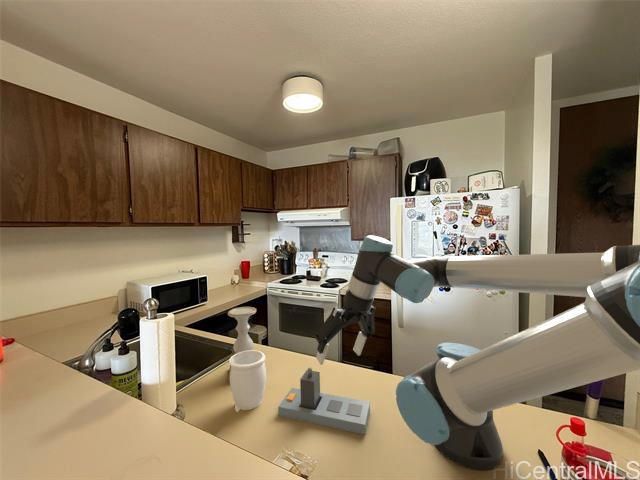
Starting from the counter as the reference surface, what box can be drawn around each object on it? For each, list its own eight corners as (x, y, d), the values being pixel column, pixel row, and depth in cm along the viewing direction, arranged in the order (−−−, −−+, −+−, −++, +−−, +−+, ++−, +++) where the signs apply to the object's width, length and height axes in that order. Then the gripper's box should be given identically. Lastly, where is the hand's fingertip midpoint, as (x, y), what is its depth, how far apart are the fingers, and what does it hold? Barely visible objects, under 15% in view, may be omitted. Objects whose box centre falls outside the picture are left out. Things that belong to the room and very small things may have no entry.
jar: (223, 413, 75) (221, 363, 74) (245, 392, 85) (243, 347, 84) (254, 422, 71) (252, 368, 71) (273, 399, 81) (271, 352, 80)
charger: (320, 405, 75) (319, 365, 75) (314, 417, 70) (313, 374, 70) (307, 403, 76) (306, 363, 76) (301, 414, 71) (300, 372, 71)
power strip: (370, 415, 72) (369, 399, 72) (365, 440, 64) (365, 422, 64) (292, 400, 80) (291, 386, 80) (278, 420, 71) (278, 404, 71)
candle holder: (259, 364, 103) (257, 305, 102) (260, 379, 92) (257, 313, 91) (230, 368, 100) (228, 307, 99) (227, 384, 89) (225, 316, 89)
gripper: (383, 284, 79) (362, 341, 84) (315, 286, 65) (295, 354, 70) (401, 297, 73) (377, 357, 78) (330, 303, 59) (308, 376, 65)
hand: (338, 356), depth 74 cm, fingers open, 13 cm apart
